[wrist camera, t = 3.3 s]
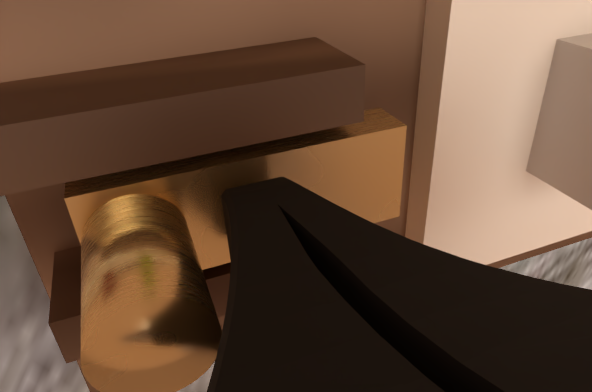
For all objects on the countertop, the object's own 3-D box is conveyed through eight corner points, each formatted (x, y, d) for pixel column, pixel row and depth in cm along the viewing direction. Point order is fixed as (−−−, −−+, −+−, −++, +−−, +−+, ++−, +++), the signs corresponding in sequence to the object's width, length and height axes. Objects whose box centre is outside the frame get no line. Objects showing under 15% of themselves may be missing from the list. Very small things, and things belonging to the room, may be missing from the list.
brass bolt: (375, 192, 13) (481, 295, 9) (98, 262, 11) (105, 424, 7) (379, 107, 11) (503, 190, 8) (65, 169, 10) (56, 312, 6)
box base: (636, 196, 22) (729, 244, 19) (93, 362, 16) (95, 479, 12) (784, -187, 15) (976, -213, 12) (-128, -180, 8) (-261, -235, 5)
